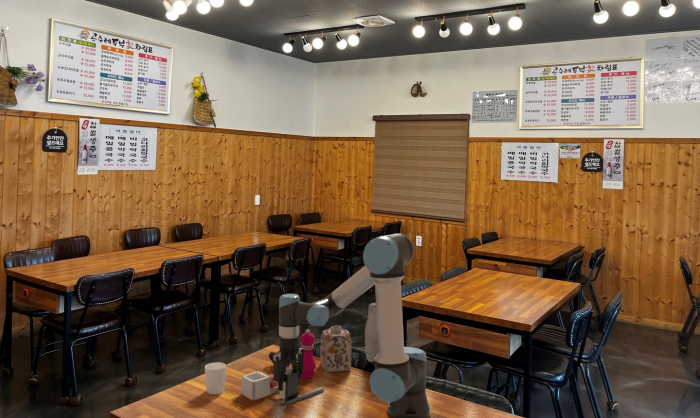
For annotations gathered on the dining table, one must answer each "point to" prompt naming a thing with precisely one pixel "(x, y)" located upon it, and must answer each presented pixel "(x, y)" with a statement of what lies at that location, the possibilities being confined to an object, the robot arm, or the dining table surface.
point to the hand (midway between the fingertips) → (288, 396)
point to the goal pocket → (255, 385)
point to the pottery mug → (276, 354)
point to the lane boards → (274, 390)
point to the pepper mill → (308, 355)
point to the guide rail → (301, 397)
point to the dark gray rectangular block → (288, 383)
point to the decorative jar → (335, 350)
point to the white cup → (215, 377)
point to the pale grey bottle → (371, 333)
